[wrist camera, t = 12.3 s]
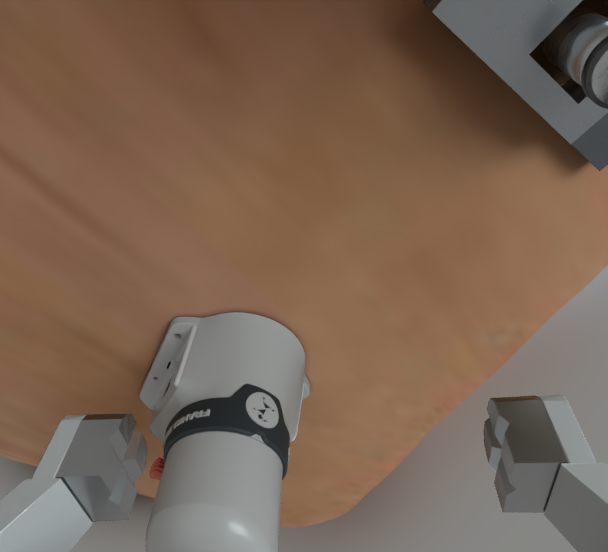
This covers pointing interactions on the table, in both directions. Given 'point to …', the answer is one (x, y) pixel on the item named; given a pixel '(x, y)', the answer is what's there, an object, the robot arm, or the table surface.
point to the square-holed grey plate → (529, 63)
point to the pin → (582, 52)
